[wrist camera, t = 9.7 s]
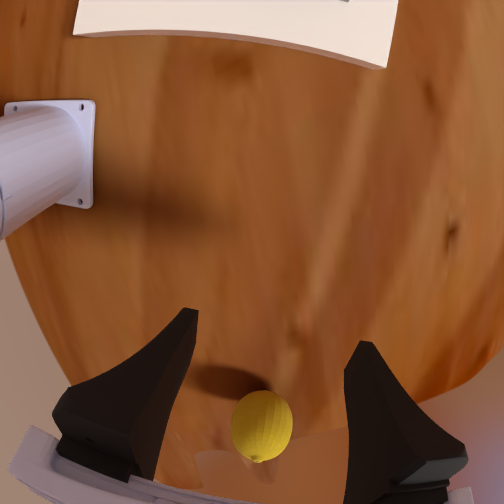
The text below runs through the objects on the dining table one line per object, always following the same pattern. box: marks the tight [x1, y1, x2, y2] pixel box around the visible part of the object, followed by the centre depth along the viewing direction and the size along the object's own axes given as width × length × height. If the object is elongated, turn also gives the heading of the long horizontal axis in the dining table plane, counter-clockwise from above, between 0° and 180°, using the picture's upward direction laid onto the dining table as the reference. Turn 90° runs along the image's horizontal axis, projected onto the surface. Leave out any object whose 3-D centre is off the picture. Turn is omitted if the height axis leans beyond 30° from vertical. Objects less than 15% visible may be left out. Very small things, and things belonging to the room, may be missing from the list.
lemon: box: [231, 390, 292, 463], centre depth 26 cm, size 6×6×8 cm
